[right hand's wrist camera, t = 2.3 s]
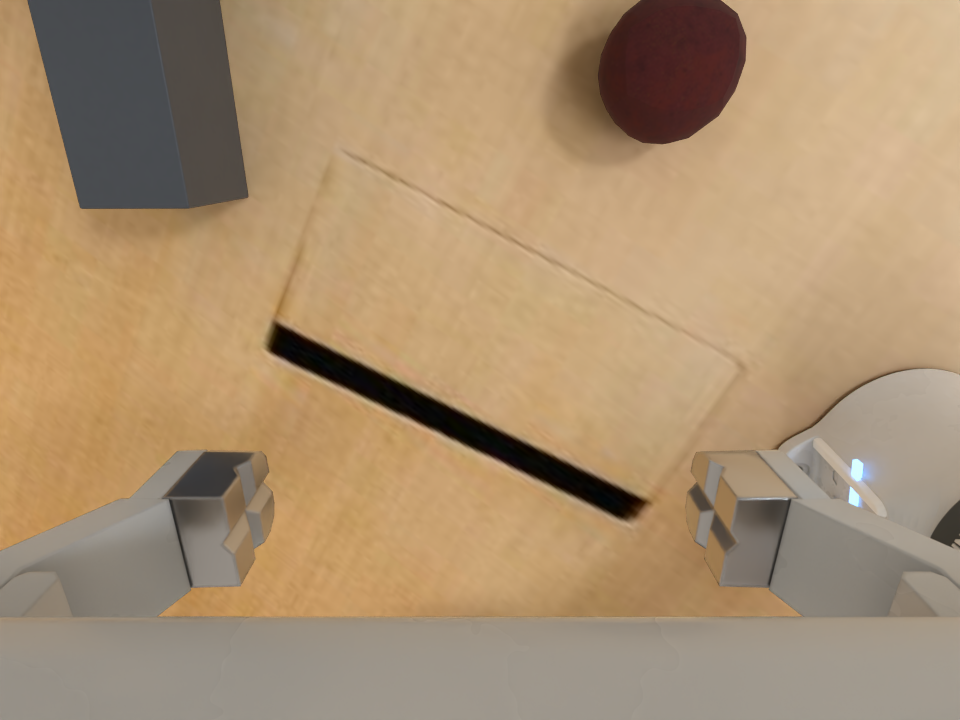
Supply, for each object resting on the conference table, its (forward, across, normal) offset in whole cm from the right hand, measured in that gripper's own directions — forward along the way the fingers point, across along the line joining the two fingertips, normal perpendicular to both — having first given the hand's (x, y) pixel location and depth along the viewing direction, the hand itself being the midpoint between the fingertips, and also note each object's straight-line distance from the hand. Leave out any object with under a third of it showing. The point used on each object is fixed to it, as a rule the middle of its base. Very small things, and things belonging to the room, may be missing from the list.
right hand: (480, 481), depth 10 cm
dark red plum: (+28, +10, +10) cm, 32 cm away
